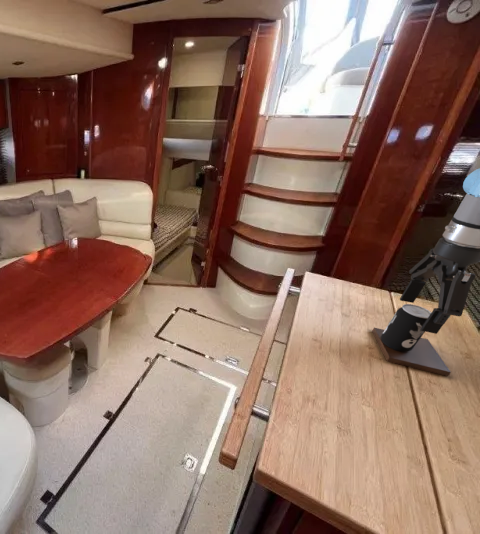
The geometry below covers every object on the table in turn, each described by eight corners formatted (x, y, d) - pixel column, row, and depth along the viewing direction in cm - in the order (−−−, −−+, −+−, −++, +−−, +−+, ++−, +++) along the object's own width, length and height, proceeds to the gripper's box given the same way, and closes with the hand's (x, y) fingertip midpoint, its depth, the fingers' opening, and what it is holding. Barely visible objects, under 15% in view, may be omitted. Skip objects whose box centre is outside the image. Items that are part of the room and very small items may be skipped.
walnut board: (424, 343, 87) (427, 339, 86) (447, 376, 77) (451, 372, 76) (371, 331, 92) (374, 327, 91) (386, 361, 82) (389, 357, 81)
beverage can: (388, 351, 83) (411, 316, 77) (374, 334, 88) (394, 301, 82) (417, 355, 81) (442, 320, 75) (401, 338, 87) (424, 304, 81)
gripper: (418, 220, 80) (382, 287, 91) (472, 263, 61) (417, 342, 71) (458, 224, 77) (415, 293, 88) (527, 270, 58) (462, 351, 68)
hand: (416, 315), depth 79 cm, fingers open, 13 cm apart
